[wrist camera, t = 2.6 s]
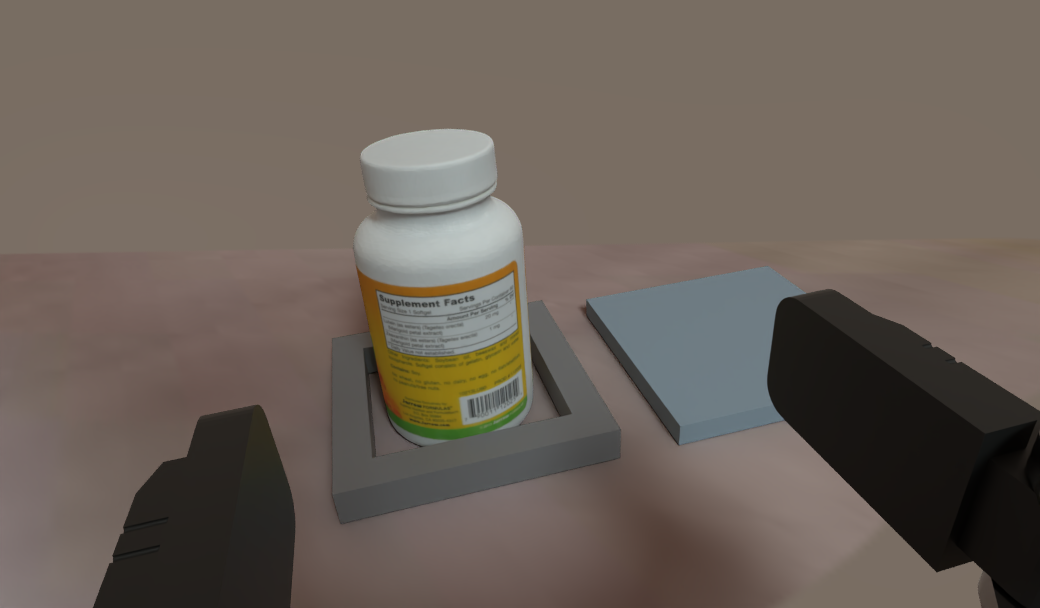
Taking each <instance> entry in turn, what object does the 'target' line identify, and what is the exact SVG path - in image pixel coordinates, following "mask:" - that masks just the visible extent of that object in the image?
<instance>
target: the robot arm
mask: <svg viewBox="0 0 1040 608" xmlns="http://www.w3.org/2000/svg"><path fill="white" fill-rule="evenodd" d="M767 387H768V392H769V396H770V399H771V401H772V403H773V406H774V407H775V409H776V411H777V412H778V413H779V414H780V416H781V417H782V418H783V419H784V420H785V421H786V422H787V423H788V424H789V425H790V426H791V427H792V428H793V429H794V430H795V431H796V432H797V433H798V434H799V435H800V436H801V437H802V438H803V439H804V440H805V441H806V442H807V443H808V444H809V445H810V446H811V447H812V448H813V449H814V450H815V451H816V452H817V453H818V454H819V455H820V456H821V457H822V458H823V459H824V460H825V461H826V462H827V463H828V464H829V465H830V466H831V467H832V468H833V469H834V470H835V471H836V472H837V473H838V474H839V475H840V476H841V477H842V478H843V479H844V480H845V481H846V482H847V483H848V484H849V485H850V486H851V487H852V488H853V489H854V490H855V491H856V492H857V493H858V494H859V495H860V496H861V497H862V498H863V499H864V500H865V501H866V502H867V503H868V504H869V505H870V506H871V507H872V508H873V509H874V510H875V511H876V512H877V513H878V514H879V515H880V516H881V517H882V518H883V519H884V520H885V521H886V522H887V523H888V524H889V525H890V526H891V527H892V528H893V529H894V530H895V531H896V532H897V533H898V534H899V535H900V536H901V537H902V538H903V539H904V540H905V541H906V542H907V543H908V544H909V545H910V546H911V547H912V548H913V549H914V550H915V551H916V552H917V553H918V554H919V555H920V556H921V557H922V558H923V559H924V560H925V561H926V562H927V563H928V564H929V565H930V566H931V567H932V568H933V569H934V570H935V571H936V572H939V571H942V570H945V569H949V568H952V567H955V566H958V565H962V564H965V563H968V562H972V561H974V562H975V563H976V564H977V565H978V566H979V567H980V568H981V569H982V570H983V572H982V575H981V577H980V580H979V583H978V594H979V599H980V603H981V608H1040V411H1039V410H1037V409H1035V408H1034V407H1032V406H1031V405H1029V404H1028V403H1026V402H1024V401H1023V400H1021V399H1020V398H1018V397H1016V396H1015V395H1013V394H1012V393H1010V392H1008V391H1007V390H1005V389H1004V388H1002V387H1001V386H999V385H997V384H996V383H994V382H993V381H991V380H989V379H988V378H986V377H985V376H983V375H981V374H980V373H978V372H977V371H975V370H973V369H972V368H970V367H969V366H967V365H965V364H964V363H962V362H959V363H957V362H956V361H955V358H954V357H953V356H951V355H950V354H948V353H946V352H945V351H943V350H942V349H940V348H938V347H934V348H933V347H932V345H931V343H930V342H929V341H927V340H926V339H924V338H922V337H921V336H919V335H918V334H916V333H915V332H913V331H911V330H910V329H908V328H907V327H905V326H903V325H901V324H898V323H896V322H893V321H890V320H887V319H885V318H882V317H879V316H876V315H874V314H872V313H870V312H868V311H867V310H865V309H864V308H862V307H861V306H859V305H858V304H856V303H854V302H853V301H851V300H850V299H848V298H847V297H845V296H844V295H842V294H840V293H839V292H837V291H835V290H832V289H826V290H821V291H816V292H811V293H806V294H801V295H797V296H792V297H787V298H784V299H783V300H782V301H781V302H780V303H779V304H778V306H777V309H776V314H775V321H774V329H773V336H772V344H771V351H770V359H769V366H768V374H767ZM123 528H124V533H123V534H121V535H120V537H119V540H118V542H117V545H116V548H115V550H114V553H113V563H110V564H109V566H108V569H107V572H106V574H105V577H104V580H103V582H102V585H101V588H100V590H99V593H98V596H97V598H96V601H95V604H94V606H93V608H290V600H291V586H292V571H293V557H294V542H295V513H294V505H293V499H292V494H291V490H290V487H289V483H288V480H287V477H286V474H285V471H284V468H283V465H282V462H281V459H280V456H279V454H278V451H277V448H276V445H275V442H274V439H273V436H272V433H271V430H270V427H269V424H268V421H267V418H266V415H265V413H264V411H263V409H262V408H261V406H260V405H253V406H248V407H243V408H239V409H234V410H229V411H224V412H219V413H214V414H209V415H204V416H201V417H200V418H199V420H198V422H197V425H196V428H195V431H194V435H193V438H192V441H191V445H190V448H189V451H188V455H187V457H185V458H180V459H176V460H171V461H166V462H163V463H162V464H161V465H160V467H159V468H158V469H157V470H156V471H155V472H154V473H153V475H152V476H151V477H150V478H149V479H148V480H147V482H146V483H145V484H144V485H143V486H142V487H141V488H140V490H139V491H138V492H137V493H136V495H135V497H134V500H133V503H132V505H131V508H130V511H129V513H128V516H127V519H126V521H125V524H124V527H123Z"/></svg>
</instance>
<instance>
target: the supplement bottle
mask: <svg viewBox="0 0 1040 608" xmlns="http://www.w3.org/2000/svg"><path fill="white" fill-rule="evenodd" d="M360 163H361V168H362V175H363V180H364V185H365V190H366V193H367V200H368V202H369V203H370V204H371V205H372V206H374V207H375V208H376V209H377V210H375V211H374V212H373V213H371V214H370V215H369V216H368V217H366V218H365V219H364V220H363V222H362V223H361V224H360V226H359V227H358V229H357V231H356V234H355V237H354V243H353V244H354V245H353V250H354V256H355V262H356V268H357V273H358V277H359V282H360V287H361V291H362V296H363V301H364V306H365V310H366V315H367V320H368V325H369V329H370V334H371V339H372V344H373V349H374V353H375V358H376V363H377V368H378V373H379V378H380V382H381V387H382V391H383V396H384V400H385V405H386V408H387V412H388V416H389V419H390V421H391V423H392V425H393V426H394V428H395V429H396V430H397V432H399V433H400V434H401V435H402V436H403V437H404V438H406V439H407V440H409V441H411V442H413V443H415V444H417V445H420V446H423V447H424V446H429V445H433V444H438V443H442V442H447V441H451V440H456V439H461V438H465V437H470V436H474V435H479V434H483V433H488V432H492V431H497V430H502V429H506V428H511V427H515V426H518V425H519V424H520V423H521V422H522V421H523V420H524V418H525V417H526V416H527V414H528V412H529V410H530V407H531V405H532V400H533V375H532V361H531V345H530V331H529V317H528V302H527V287H526V271H525V255H524V242H523V234H522V227H521V223H520V221H519V219H518V217H517V215H516V214H515V212H514V211H513V210H512V209H511V208H510V207H509V206H508V205H507V204H506V203H504V202H503V201H501V200H499V199H497V198H495V197H492V196H490V194H491V193H493V192H494V190H495V189H496V185H497V182H496V180H497V176H498V175H497V167H496V160H495V151H494V143H493V140H492V139H491V138H490V137H489V136H488V135H486V134H484V133H480V132H476V131H470V130H461V129H440V130H439V129H438V130H425V131H417V132H411V133H405V134H400V135H396V136H392V137H389V138H386V139H383V140H380V141H378V142H376V143H373V144H371V145H369V146H368V147H366V148H365V149H364V150H363V151H362V152H361V155H360Z"/></svg>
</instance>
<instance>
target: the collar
mask: <svg viewBox="0 0 1040 608" xmlns="http://www.w3.org/2000/svg"><path fill="white" fill-rule="evenodd" d="M528 317H529V331H530V345H531V358H532V360H533V362H534V364H535V366H536V368H537V370H538V372H539V374H540V376H541V378H542V380H543V382H544V384H545V386H546V388H547V390H548V392H549V394H550V396H551V398H552V400H553V403H554V405H555V407H556V409H557V411H558V413H559V415H560V417H556V418H552V419H547V420H543V421H538V422H534V423H529V424H524V425H520V426H515V427H511V428H506V429H502V430H497V431H492V432H488V433H483V434H479V435H474V436H470V437H465V438H461V439H456V440H451V441H447V442H442V443H438V444H433V445H429V446H424V447H419V448H415V449H410V450H406V451H401V452H397V453H392V454H388V455H383V456H378V457H376V451H375V440H374V429H373V417H372V406H371V395H370V383H369V373H372V372H377V371H378V368H377V363H376V358H375V353H374V349H373V344H372V339H371V334H370V332H365V333H360V334H354V335H349V336H343V337H338V338H332V495H333V499H334V502H335V506H336V510H337V513H338V517H339V520H340V524H342V523H346V522H351V521H355V520H359V519H363V518H367V517H372V516H376V515H380V514H384V513H389V512H393V511H397V510H401V509H406V508H410V507H414V506H418V505H423V504H427V503H431V502H435V501H439V500H444V499H448V498H452V497H456V496H461V495H465V494H469V493H473V492H478V491H482V490H486V489H490V488H495V487H499V486H503V485H507V484H511V483H516V482H520V481H524V480H528V479H533V478H537V477H541V476H545V475H550V474H554V473H558V472H562V471H566V470H571V469H575V468H579V467H583V466H588V465H592V464H596V463H600V462H605V461H609V460H613V459H617V458H620V438H621V429H620V427H619V426H618V424H617V422H616V421H615V419H614V417H613V416H612V414H611V413H610V411H609V409H608V408H607V406H606V404H605V403H604V401H603V399H602V398H601V396H600V395H599V393H598V391H597V390H596V388H595V386H594V385H593V383H592V381H591V380H590V378H589V377H588V375H587V373H586V372H585V370H584V368H583V367H582V365H581V363H580V362H579V360H578V359H577V357H576V355H575V354H574V352H573V350H572V349H571V347H570V345H569V344H568V342H567V341H566V339H565V337H564V336H563V334H562V332H561V331H560V329H559V327H558V326H557V324H556V323H555V321H554V319H553V318H552V316H551V314H550V313H549V311H548V309H547V308H546V306H545V305H544V303H543V301H542V300H541V301H535V302H530V303H528Z"/></svg>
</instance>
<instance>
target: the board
mask: <svg viewBox="0 0 1040 608" xmlns="http://www.w3.org/2000/svg"><path fill="white" fill-rule="evenodd" d="M801 294H806V293H805V292H804V291H802V290H801V289H800V288H798V287H797V286H795V285H794V284H792V283H791V282H790V281H788V280H787V279H785V278H784V277H783V276H781V275H780V274H778V273H777V272H776V271H774V270H773V269H771V268H770V267H769V266H765V267H760V268H754V269H749V270H744V271H738V272H733V273H727V274H722V275H717V276H711V277H706V278H700V279H695V280H689V281H684V282H679V283H673V284H668V285H662V286H657V287H651V288H646V289H641V290H635V291H630V292H624V293H619V294H614V295H608V296H603V297H597V298H592V299H586V308H587V316H588V318H589V319H590V321H591V322H592V323H593V325H594V326H595V328H596V329H597V330H598V332H599V333H600V335H601V336H602V337H603V339H604V340H605V342H606V343H607V344H608V346H609V347H610V349H611V350H612V352H613V353H614V354H615V356H616V357H617V359H618V360H619V361H620V363H621V364H622V366H623V367H624V368H625V370H626V371H627V373H628V374H629V375H630V377H631V378H632V380H633V381H634V382H635V384H636V385H637V387H638V388H639V390H640V391H641V392H642V394H643V395H644V397H645V398H646V399H647V401H648V402H649V404H650V405H651V406H652V408H653V409H654V411H655V412H656V413H657V415H658V416H659V418H660V419H661V420H662V422H663V423H664V425H665V426H666V428H667V429H668V430H669V432H670V433H671V435H672V436H673V437H674V439H675V440H676V442H677V443H678V444H679V445H681V444H686V443H690V442H694V441H698V440H703V439H707V438H711V437H715V436H719V435H724V434H728V433H732V432H736V431H741V430H745V429H749V428H753V427H758V426H762V425H766V424H770V423H774V422H779V421H783V420H784V419H783V418H782V417H781V416H780V414H779V413H778V412H777V411H776V409H775V407H774V406H773V403H772V401H771V399H770V396H769V392H768V387H767V374H768V366H769V359H770V351H771V344H772V336H773V329H774V321H775V314H776V309H777V306H778V304H779V303H780V302H781V301H782V300H783V299H784V298H787V297H792V296H797V295H801Z"/></svg>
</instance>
